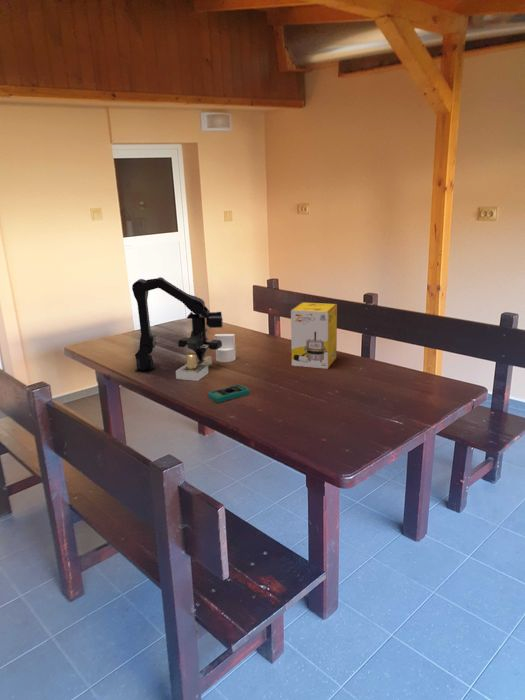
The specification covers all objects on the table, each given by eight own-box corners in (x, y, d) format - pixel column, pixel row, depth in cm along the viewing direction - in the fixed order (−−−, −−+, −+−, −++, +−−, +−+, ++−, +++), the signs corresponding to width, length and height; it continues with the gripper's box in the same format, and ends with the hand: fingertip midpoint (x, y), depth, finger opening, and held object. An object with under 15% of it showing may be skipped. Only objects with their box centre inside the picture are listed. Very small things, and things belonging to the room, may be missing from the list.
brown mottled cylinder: (186, 378, 226) (184, 355, 223) (190, 375, 229) (188, 352, 226) (194, 379, 224) (193, 356, 221) (199, 375, 228) (197, 353, 225)
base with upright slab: (237, 357, 252) (235, 332, 248) (234, 363, 243) (232, 337, 240) (218, 357, 253) (216, 332, 249) (214, 363, 244) (213, 337, 240)
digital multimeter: (250, 395, 206) (250, 388, 205) (217, 404, 198) (216, 397, 197) (240, 390, 212) (240, 383, 211) (207, 398, 204) (207, 391, 203)
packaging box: (291, 365, 237) (290, 310, 230) (302, 354, 252) (301, 302, 245) (327, 368, 232) (327, 312, 224) (336, 357, 246) (337, 304, 239)
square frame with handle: (176, 378, 224) (175, 370, 223) (199, 362, 243) (199, 355, 242) (197, 381, 220) (197, 372, 219) (220, 364, 240) (219, 357, 239)
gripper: (170, 331, 228) (173, 366, 233) (211, 334, 223) (213, 369, 227) (182, 324, 238) (184, 358, 243) (221, 327, 233) (223, 361, 237)
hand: (200, 362), depth 237 cm, fingers closed
